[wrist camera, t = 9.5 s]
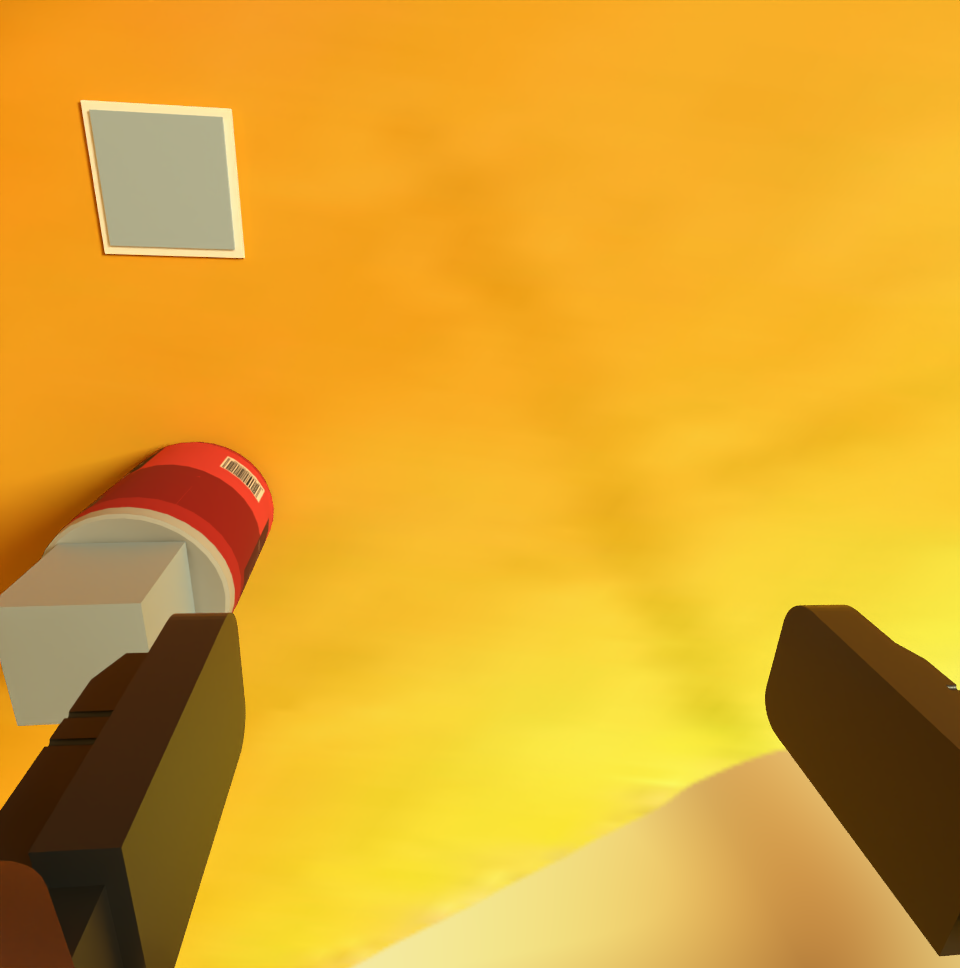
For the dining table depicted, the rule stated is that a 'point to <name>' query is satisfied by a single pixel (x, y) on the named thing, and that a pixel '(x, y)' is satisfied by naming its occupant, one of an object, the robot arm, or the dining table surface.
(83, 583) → the light grey cube
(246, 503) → the canned food
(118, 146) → the swatch
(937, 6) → the dining table surface
